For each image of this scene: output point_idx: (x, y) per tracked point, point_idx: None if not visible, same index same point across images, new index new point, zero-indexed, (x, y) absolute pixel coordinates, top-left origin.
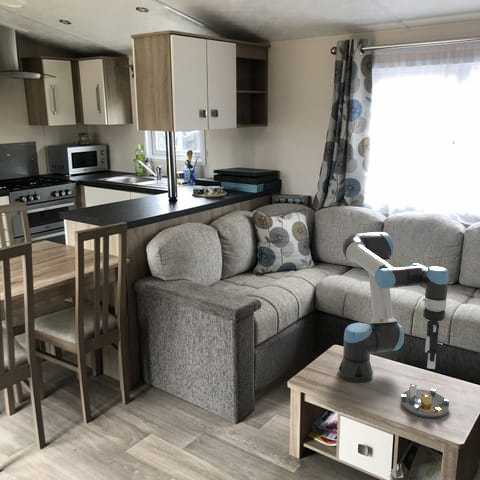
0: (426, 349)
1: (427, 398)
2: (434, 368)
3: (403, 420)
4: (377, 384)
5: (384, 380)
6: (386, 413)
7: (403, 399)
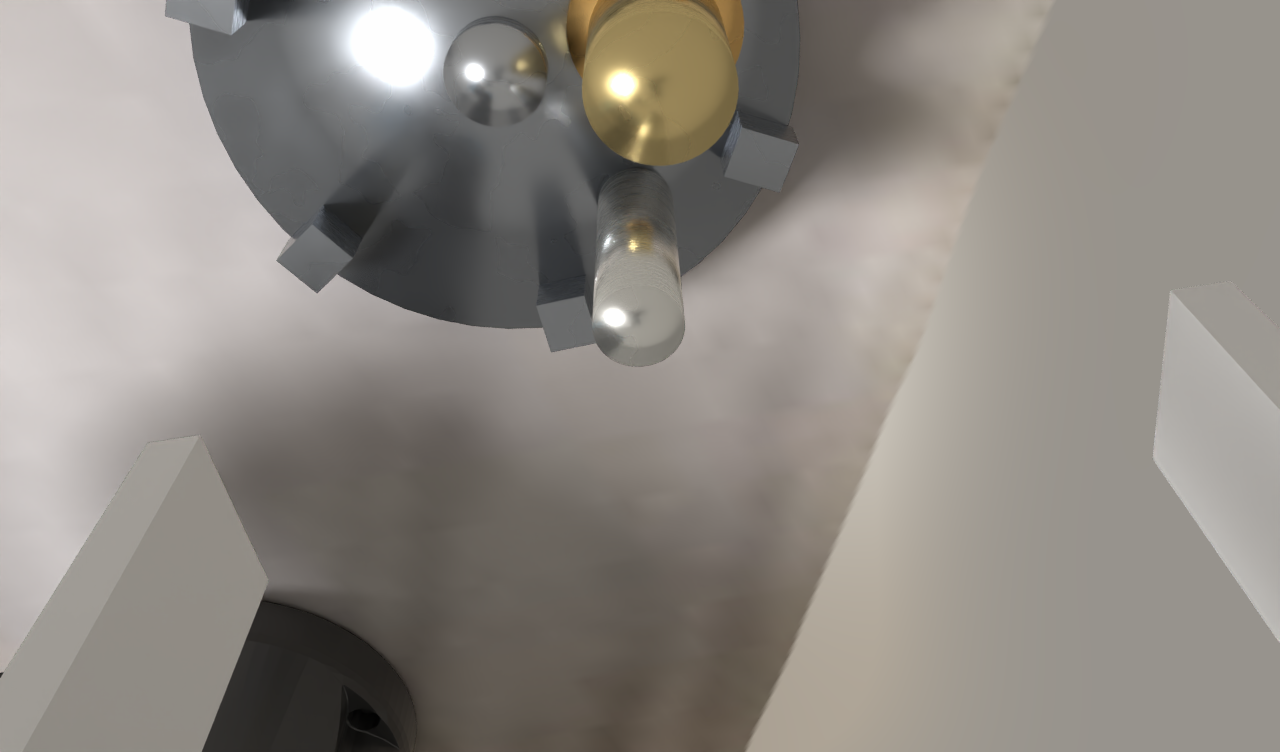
0: (237, 619)
1: (736, 71)
2: (1242, 301)
3: (903, 215)
4: (311, 537)
5: None
6: (828, 379)
7: (592, 298)
